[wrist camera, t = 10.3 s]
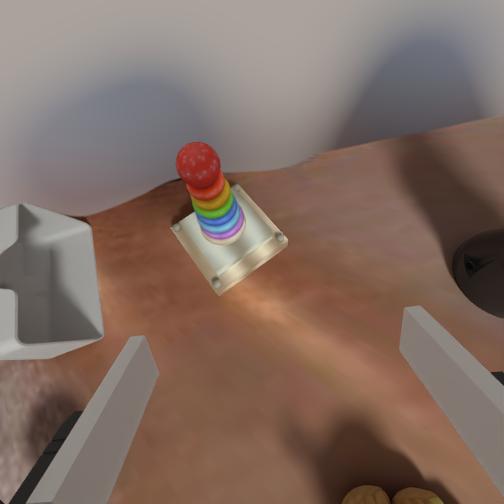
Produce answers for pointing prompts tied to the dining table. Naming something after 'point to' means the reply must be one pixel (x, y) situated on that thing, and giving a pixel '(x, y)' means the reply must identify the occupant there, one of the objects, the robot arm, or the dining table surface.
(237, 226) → the stacking toy
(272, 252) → the plinth
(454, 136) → the dining table surface
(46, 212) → the tank
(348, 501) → the giraffe plush
